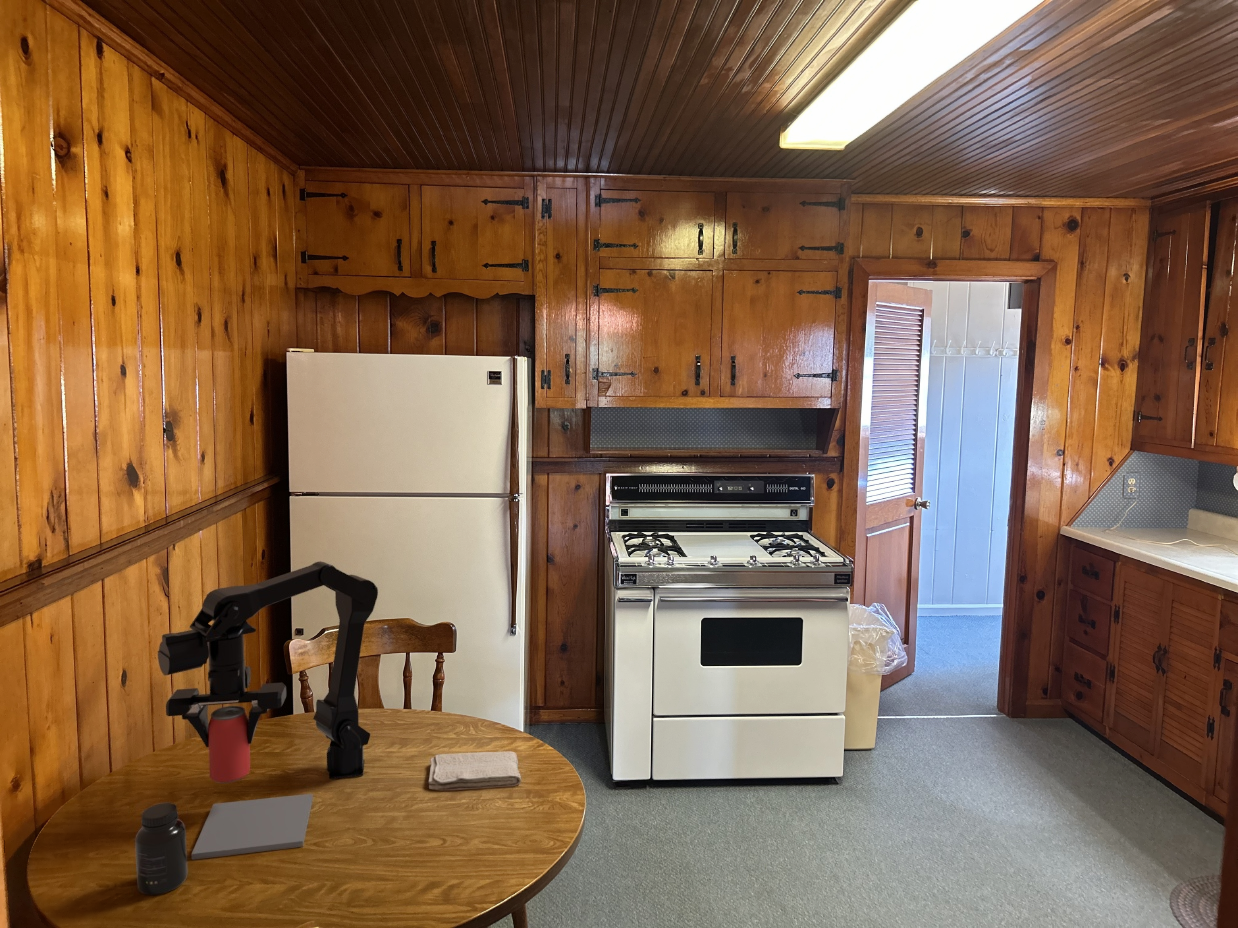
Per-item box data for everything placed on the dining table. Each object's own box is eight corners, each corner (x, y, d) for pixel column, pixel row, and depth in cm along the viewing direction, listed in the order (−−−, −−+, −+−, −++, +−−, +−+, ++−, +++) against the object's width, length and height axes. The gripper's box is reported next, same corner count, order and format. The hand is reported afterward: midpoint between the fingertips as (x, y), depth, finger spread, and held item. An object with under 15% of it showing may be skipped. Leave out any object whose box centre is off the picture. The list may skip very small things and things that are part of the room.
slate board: (312, 798, 151) (312, 793, 151) (302, 846, 136) (302, 840, 135) (213, 808, 146) (213, 803, 146) (191, 859, 131) (191, 853, 131)
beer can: (257, 768, 148) (255, 705, 146) (236, 786, 141) (234, 720, 140) (224, 765, 149) (222, 702, 147) (201, 782, 142) (199, 717, 141)
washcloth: (430, 765, 166) (430, 751, 166) (517, 759, 169) (517, 745, 169) (427, 794, 154) (427, 779, 154) (521, 787, 158) (521, 773, 157)
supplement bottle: (150, 869, 128) (148, 798, 127) (195, 868, 129) (192, 797, 127) (128, 897, 121) (125, 822, 120) (175, 896, 122) (172, 821, 121)
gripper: (290, 642, 153) (291, 721, 154) (182, 648, 148) (185, 729, 150) (279, 663, 142) (282, 747, 143) (163, 670, 137) (166, 757, 139)
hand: (229, 744), depth 144 cm, fingers closed on beer can, 7 cm apart
